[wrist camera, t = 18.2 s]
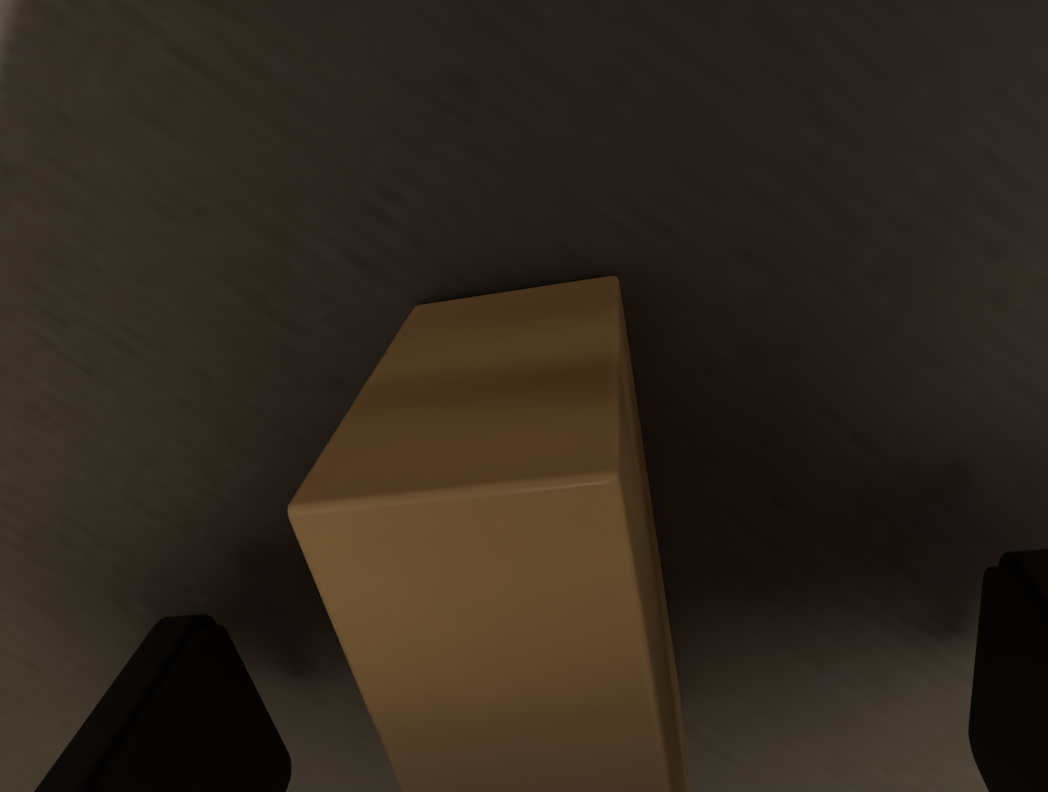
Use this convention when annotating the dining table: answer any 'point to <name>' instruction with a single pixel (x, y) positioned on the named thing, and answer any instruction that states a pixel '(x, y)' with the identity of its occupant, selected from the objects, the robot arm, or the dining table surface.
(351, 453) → the knife
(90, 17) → the dining table surface
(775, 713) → the dining table surface
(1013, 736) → the robot arm
